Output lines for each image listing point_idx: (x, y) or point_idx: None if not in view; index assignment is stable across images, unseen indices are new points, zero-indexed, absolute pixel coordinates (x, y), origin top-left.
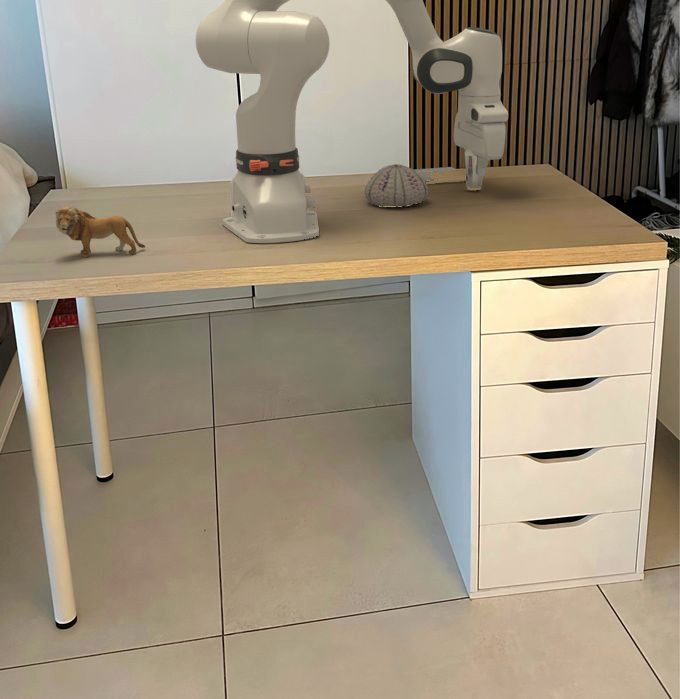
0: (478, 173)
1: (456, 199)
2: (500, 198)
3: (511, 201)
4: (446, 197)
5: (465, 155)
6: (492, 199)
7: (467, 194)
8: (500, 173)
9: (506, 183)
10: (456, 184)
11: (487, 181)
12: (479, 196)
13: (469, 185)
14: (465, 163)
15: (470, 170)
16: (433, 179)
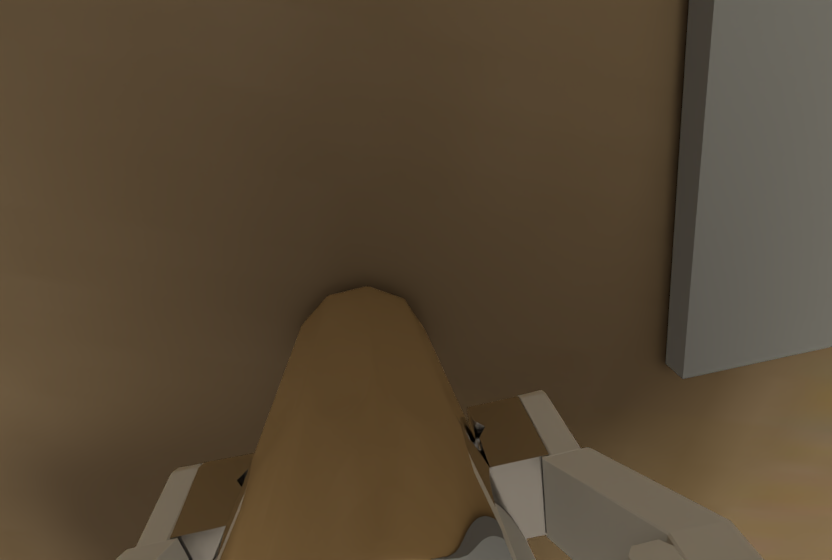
0: (165, 487)
1: (16, 136)
2: (104, 477)
3: (13, 528)
4: (100, 43)
5: (331, 555)
6: (62, 427)
7: (240, 271)
8: (798, 535)
9: (544, 542)
10: (620, 240)
11: (633, 454)
12: (165, 352)
13: (315, 324)
14: (363, 431)
15: (278, 426)
16: (775, 27)
